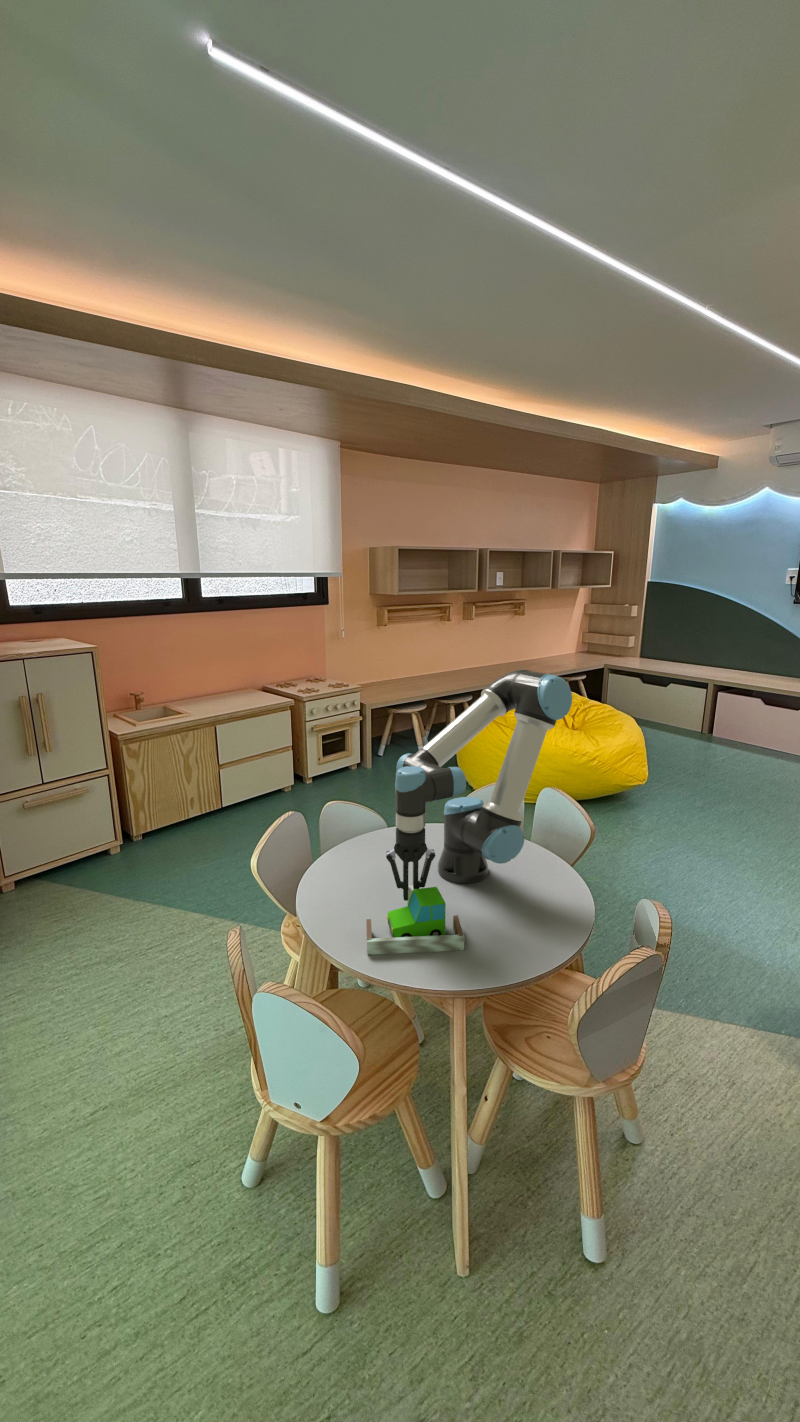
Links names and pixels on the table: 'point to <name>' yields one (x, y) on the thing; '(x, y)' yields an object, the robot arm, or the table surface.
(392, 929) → the toy car
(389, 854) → the robot arm
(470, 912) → the table surface
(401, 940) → the bay
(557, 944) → the table surface
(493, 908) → the table surface
